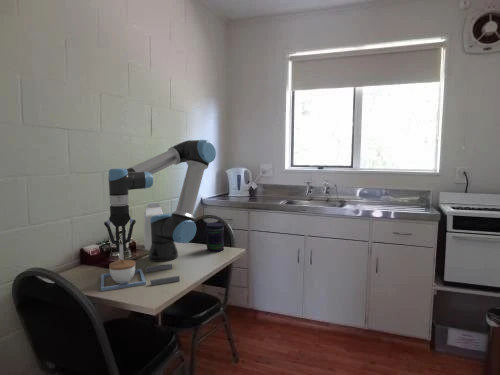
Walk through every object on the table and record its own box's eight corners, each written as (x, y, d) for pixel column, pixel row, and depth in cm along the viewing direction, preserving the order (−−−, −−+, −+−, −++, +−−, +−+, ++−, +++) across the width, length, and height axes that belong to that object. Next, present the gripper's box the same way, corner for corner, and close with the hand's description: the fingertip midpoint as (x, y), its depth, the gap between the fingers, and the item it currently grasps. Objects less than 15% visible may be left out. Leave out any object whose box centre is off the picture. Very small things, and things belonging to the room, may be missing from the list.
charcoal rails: (171, 267, 163) (171, 263, 163) (179, 281, 147) (179, 276, 146) (146, 271, 159) (145, 267, 159) (150, 285, 142) (150, 280, 142)
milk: (145, 249, 195) (143, 204, 192) (143, 244, 206) (141, 202, 203) (166, 247, 200) (165, 203, 197) (163, 242, 210) (162, 200, 208)
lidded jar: (107, 279, 149) (106, 258, 148) (131, 274, 155) (131, 254, 154) (113, 287, 140) (112, 265, 139) (139, 281, 146) (138, 260, 145)
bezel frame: (141, 271, 159) (141, 267, 159) (145, 284, 143) (145, 279, 143) (101, 276, 152) (101, 272, 152) (100, 291, 136) (100, 286, 136)
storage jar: (208, 247, 198) (207, 222, 197) (225, 247, 198) (224, 222, 196) (205, 252, 188) (204, 226, 187) (223, 252, 188) (222, 226, 186)
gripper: (102, 207, 138) (105, 263, 140) (136, 205, 143) (138, 259, 146) (102, 204, 145) (105, 258, 147) (134, 202, 150) (136, 254, 152)
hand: (121, 258), depth 146 cm, fingers closed
